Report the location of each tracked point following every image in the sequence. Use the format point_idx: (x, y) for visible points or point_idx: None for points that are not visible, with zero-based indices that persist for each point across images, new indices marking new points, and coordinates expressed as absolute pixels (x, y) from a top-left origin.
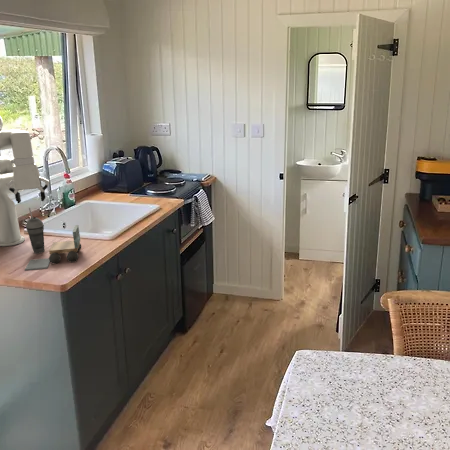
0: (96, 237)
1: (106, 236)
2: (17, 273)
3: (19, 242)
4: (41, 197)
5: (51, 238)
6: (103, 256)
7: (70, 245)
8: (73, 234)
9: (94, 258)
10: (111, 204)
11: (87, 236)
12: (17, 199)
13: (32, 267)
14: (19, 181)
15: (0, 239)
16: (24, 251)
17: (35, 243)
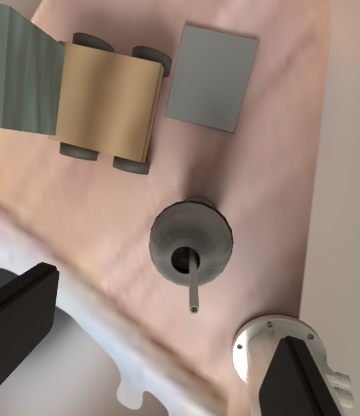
0: (29, 250)
1: (2, 243)
2: (286, 24)
3: (251, 322)
4: (22, 286)
5: (154, 314)
6: None
7: (80, 88)
8: (18, 13)
9: None
10: None
11: None
12: (316, 374)
13: (232, 44)
14: None
15: (314, 353)
16: (242, 240)
17: (204, 200)
